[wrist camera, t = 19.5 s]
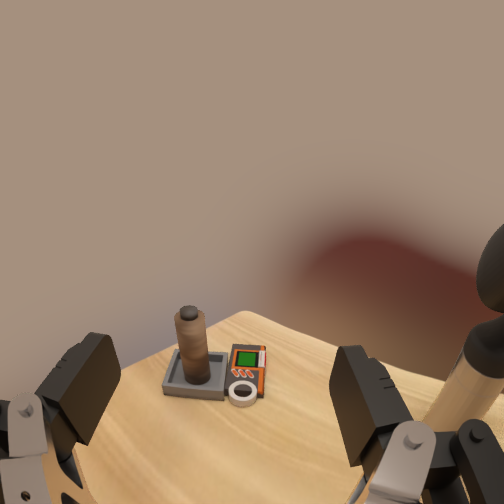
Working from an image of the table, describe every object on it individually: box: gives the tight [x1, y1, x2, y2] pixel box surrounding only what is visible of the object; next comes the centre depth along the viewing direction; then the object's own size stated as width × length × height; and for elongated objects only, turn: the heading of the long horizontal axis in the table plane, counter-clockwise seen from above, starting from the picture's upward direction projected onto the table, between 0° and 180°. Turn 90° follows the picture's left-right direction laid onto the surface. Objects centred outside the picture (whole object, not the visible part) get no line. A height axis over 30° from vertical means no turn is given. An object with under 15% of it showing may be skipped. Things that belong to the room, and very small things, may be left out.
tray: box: [162, 349, 228, 401], centre depth 45 cm, size 10×10×2 cm
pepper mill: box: [174, 306, 211, 385], centre depth 43 cm, size 5×5×14 cm
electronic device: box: [224, 344, 266, 407], centre depth 46 cm, size 7×3×15 cm
